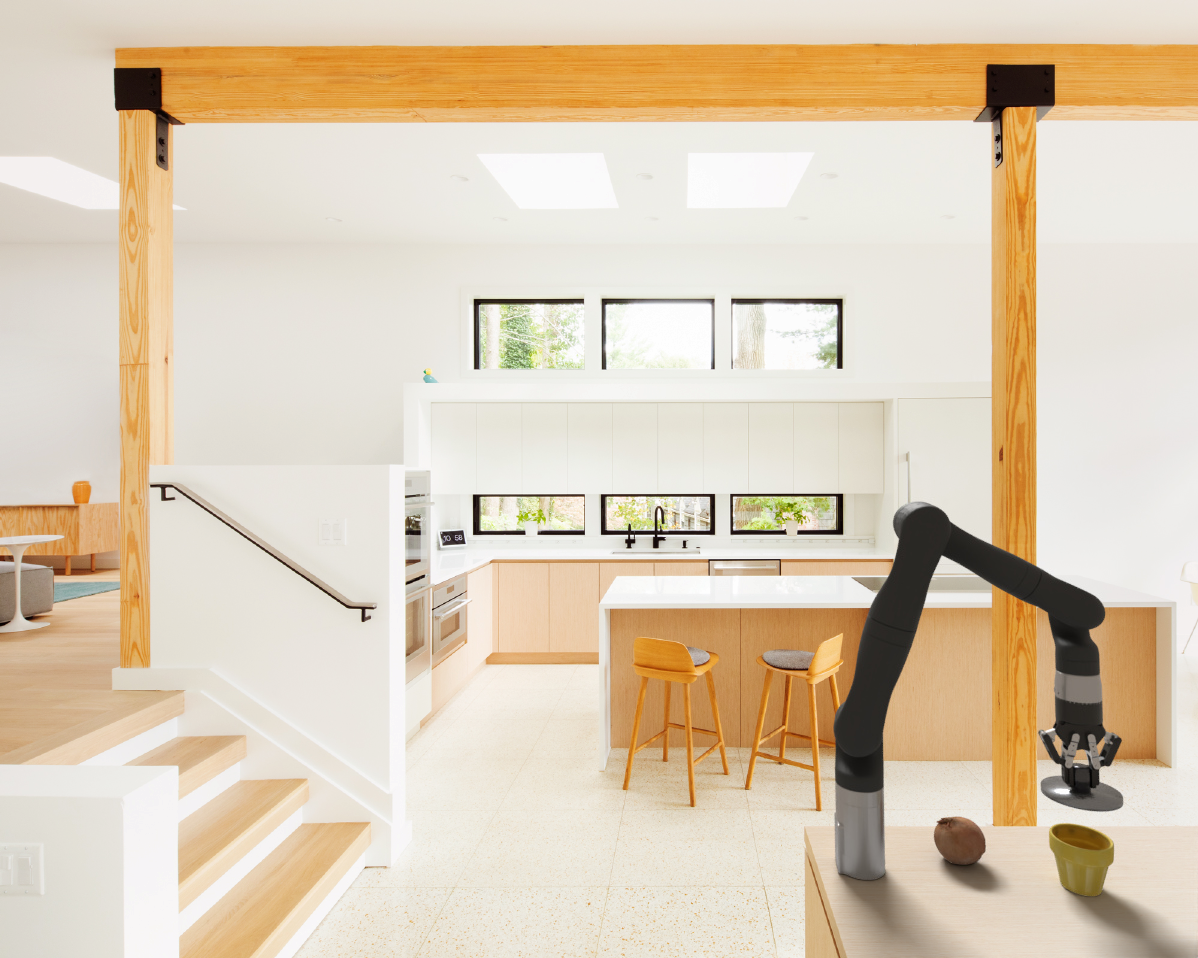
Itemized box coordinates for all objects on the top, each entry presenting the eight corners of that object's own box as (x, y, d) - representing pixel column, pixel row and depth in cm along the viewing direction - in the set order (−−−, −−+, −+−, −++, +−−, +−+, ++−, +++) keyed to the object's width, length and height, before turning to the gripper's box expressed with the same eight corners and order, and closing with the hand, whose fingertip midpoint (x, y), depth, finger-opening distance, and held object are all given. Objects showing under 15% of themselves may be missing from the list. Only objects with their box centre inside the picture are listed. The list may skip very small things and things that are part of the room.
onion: (942, 877, 148) (918, 832, 149) (954, 846, 155) (931, 804, 155) (989, 877, 142) (964, 831, 142) (999, 845, 148) (975, 801, 149)
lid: (1055, 808, 133) (1054, 778, 133) (1030, 778, 145) (1029, 751, 145) (1137, 813, 130) (1136, 783, 130) (1104, 782, 142) (1103, 754, 142)
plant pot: (1125, 905, 133) (1125, 852, 132) (1062, 900, 135) (1062, 847, 134) (1098, 874, 143) (1098, 824, 143) (1040, 869, 145) (1040, 820, 145)
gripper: (1044, 700, 135) (1046, 792, 135) (1130, 702, 132) (1133, 797, 132) (1029, 687, 143) (1032, 775, 143) (1111, 690, 139) (1113, 779, 140)
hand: (1080, 785), depth 138 cm, fingers closed on lid, 3 cm apart
